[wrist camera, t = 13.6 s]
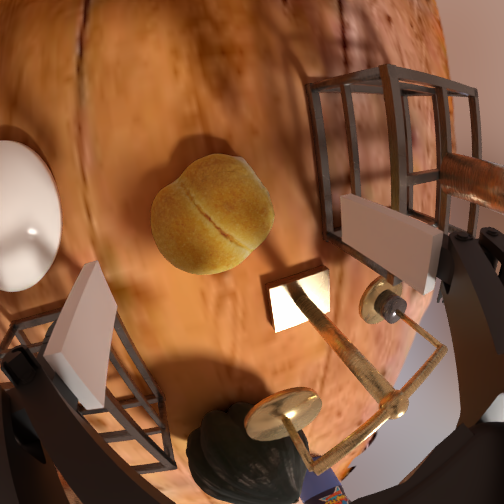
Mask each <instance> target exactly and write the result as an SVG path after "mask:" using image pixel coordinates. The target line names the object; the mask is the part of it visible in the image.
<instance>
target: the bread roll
mask: <svg viewBox="0 0 504 504" xmlns="http://www.w3.org/2000/svg"><path fill="white" fill-rule="evenodd" d="M274 215H275V214H274V210H273V206H272V202H271V199H270V197H269V192H268V191H267V188H265V187H264V186H263V184H262V182H261V181H260V179H259V178H258V177H257V176H256V174H255V172H254V171H253V170H252V168H251V167H250V166H249V164H248V163H247V162H246V161H245V159H243V158H242V157H236V156H230V155H225V154H211V155H208V156H205V157H203V158H200V159H198V160H196V161H194V162H193V163H192V164H190V165H189V166H188V167H187V168H186V169H185V170H184V172H183V173H182V174H181V176H180V177H179V178H178V179H177V180H175V181H174V182H173V183H171V184H169V185H167V186H166V187H164V188H163V189H161V190H160V191H159V192H158V194H157V195H156V197H155V199H154V201H153V203H152V207H151V230H152V235H153V237H154V240H155V242H156V245H157V247H158V249H159V251H160V252H161V253H162V255H163V256H164V257H165V258H166V259H167V260H168V261H169V262H170V263H171V264H172V265H173V266H175V267H176V268H178V269H180V270H183V271H185V272H188V273H192V274H197V275H209V274H215V273H220V272H223V271H227V270H230V269H232V268H234V267H235V266H237V265H238V264H240V263H241V262H242V261H243V260H244V259H245V258H246V257H248V256H249V255H250V254H251V252H252V251H254V250H255V249H256V248H257V247H258V246H259V245H260V244H261V243H262V242H263V241H264V240H265V239H266V237H267V235H268V234H269V232H270V230H271V228H272V225H273V222H274Z"/></svg>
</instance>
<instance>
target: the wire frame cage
mask: <svg viewBox="0 0 504 504" xmlns="http://www.w3.org/2000/svg"><path fill="white" fill-rule="evenodd" d="M398 80H401V81H407V82H412V83H418V84H423V85H428V86H432V87H435V88H429V87H424V86H418V85H413V84H407V83H401V82H399V81H398ZM305 87H306V93H307V95H308V102H309V108H310V114H311V121H312V128H313V136H314V144H315V152H316V160H317V169H318V179H319V189H320V200H321V213H322V227H323V232H322V234H323V240H325V241H326V242H331V243H332V244H334V245H336V246H337V247H339V248H340V249H342V250H343V251H345V252H346V253H348V254H349V255H351V256H353V257H354V258H356V259H357V260H359V261H360V262H362V263H363V264H365V265H366V266H368V267H369V268H371V269H372V270H374V271H375V272H377V273H378V274H380V275H381V276H383V277H384V278H386V279H387V282H388V283H389V284H391V285H392V286H395V285H398V284H400V283H401V282H402V280H401V279H399V278H398V277H396V276H395V275H393V274H392V273H390V272H389V271H387V270H386V269H384V268H383V267H381V266H380V265H378V264H377V263H375V262H374V261H372V260H371V259H369V258H368V257H366V256H365V255H363V254H362V253H360V252H359V251H357V250H355V249H354V248H352V247H351V246H349V245H348V244H346V243H344V242H343V241H342V238H340V237H342V227H338V228H335V229H333V215H332V200H331V187H330V176H329V165H328V155H327V147H326V138H325V130H324V123H323V116H322V109H321V102H320V96H319V93H341V96H342V103H343V110H344V117H345V125H346V134H347V143H348V153H349V164H350V178H351V194H353V195H356V196H359V197H361V184H360V168H359V155H358V144H357V134H356V125H355V117H354V109H353V102H352V95H351V93H367V94H382V95H384V100H385V107H386V116H387V125H388V136H389V149H390V166H391V209H393V210H395V211H397V212H400V213H402V214H405V215H407V216H411V217H413V218H416V219H418V220H421V221H423V222H426V223H428V225H430V226H432V227H434V228H438V229H439V230H441V231H443V233H444V234H446V235H448V232H449V233H452V232H465V233H467V234H470V235H472V236H473V237H474V238H475V237H476V229H477V222H478V212H479V205H480V206H483V207H485V208H488V209H491V210H493V211H496V212H498V213H501V214H503V215H504V165H501V164H498V163H494V162H490V161H486V160H482V147H481V146H482V143H481V123H480V111H479V102H478V92H477V89H476V88H472V87H469V86H466V85H463V84H460V83H457V82H454V81H451V80H448V79H445V78H441V77H438V76H435V75H431V74H427V73H423V72H419V71H415V70H411V69H406V68H402V67H397V66H396V65H391V64H384V65H379V66H378V67H376V68H371V69H366V70H361V71H357V72H353V73H349V74H345V75H341V76H337V77H333V78H329V79H326V80H322V81H319V82H315V83H309V84H306V85H305ZM407 96H432V101H433V110H434V120H435V133H436V154H437V169H432V170H426V171H420V172H414V173H413V157H412V139H411V126H410V115H409V107H408V99H407ZM447 96H460V97H468V98H469V106H470V118H471V132H472V157H469V156H465V155H460V154H455V153H452V146H451V127H450V115H449V105H448V97H447ZM435 180H437V188H436V210H435V218H433V217H431V216H428V215H426V214H423V213H421V212H418V211H415V210H413V185H416V184H421V183H426V182H431V181H435ZM451 196H454V197H458V198H460V199H463V200H466V201H469V202H470V212H469V221H468V230H467V232H466V231H464V230H462V229H460V228H458V227H455V226H453V225H450V224H449V216H450V204H451Z"/></svg>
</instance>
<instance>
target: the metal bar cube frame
mask: <svg viewBox="0 0 504 504" xmlns="http://www.w3.org/2000/svg"><path fill="white" fill-rule="evenodd" d="M62 309H63V307H62V308H58V309H55V310H51V311H48V312H45V313H41V314H38V315H34V316H31V317H27V318H24V319H20V320H15V321H12V322H11V324H10V325H9V326H10V328H9V329H8V331H7V333H6V335H5V337H4V338H3V340H2V342H1V344H0V364H1V362H2V359H3V358H4V356H5V355H6V354H7V353H8V352H9V351H10V350H11V349H8V347H9V345H10V343H11V341H12V339H13V337H14V335H16V337H17V339H18V340H19V342H20V343H21V345H26V346H27V347H28V348H29V350H30V351H31V353H32V354H33V356H34V357H35V358H37V355H38V354H37V352H39V350H40V348H41V345H43V344H42V343H43V342H38V343H34V344H31V343H30V342H29V340H28V339H27V337H26V335H25V334H24V332H23V331H22V329H26V328H30V327H34V326H37V325H41V324H45V323H49V322H52V321H55V320H57V319H58V318H59V315H60V313H61V311H62ZM114 328H115V330H116V332H117V334H118V336H119V337H120V339H121V341H122V343H123V345H124V346H125V348H126V350H127V352H128V353H129V355H130V357H131V359H132V360H133V362H134V364H135V365H136V367H137V369H138V370H139V372H140V373H141V375H142V377H143V378H144V380H145V381H146V383H147V384H148V386H149V387H150V389H151V390H152V392H153V393H154V394H152V395H148V396H144V395H143V394H142V393H141V391H140V390H139V388H138V387H137V385H136V384H135V383H134V381H133V380H132V378H131V377H130V375H129V374H128V372H127V370H126V369H125V367H124V366H123V364H122V363H121V361H120V359H119V358H118V356H117V354H116V353H115V351H114V349H113V348H112V346H110V354H109V359H110V361H111V362H112V364H113V365H114V367H115V368H116V370H117V371H118V373H119V374H120V376H121V377H122V379H123V380H124V382H125V383H126V384H127V386H128V387H129V389H130V390H131V391H132V393H133V394H134V395H135V397H136V398H133V399H128V400H123V401H117V399H116V398H115V397H114V396H113V394H112V393H111V392H110V390H109V389H108V388H107V387H106V389H105V401H104V408H98V409H90V410H86V408H85V407H79V406H78V405H77V410H78V411H79V412H80V413H81V414H82V415H87V414H95V413H102V412H110V413H111V414H112V415H113V416H114V418H115V419H116V420H117V421H118V422H119V423H120V424H121V425H122V426H123V427H124V428H125V429H126V430H121V431H114V432H106V433H98V434H99V435H100V436H101V437H102V438H103V439H104V440H105V441H106V442H107V443H110V442H119V441H126V440H133V439H136V440H137V441H138V442H139V443H140V444H141V445H142V446H143V447H144V448H145V449H146V450H147V451H148V452H149V453H150V454H152V455H153V456H154V457H155V458H156V459H157V460H158V461H159V463H152V464H145V465H136V466H131V467H132V468H133V469H134V470H135V471H136V472H137V473H139V474H146V473H154V472H161V471H168V470H175V469H177V465H176V462H175V460H174V455H173V449H172V444H171V438H170V432H169V426H168V419H167V413H166V405H165V400H166V399H165V395H164V393H163V392H162V391H161V389H160V388H159V386H158V385H157V383H156V381H155V380H154V378H153V377H152V375H151V373H150V372H149V370H148V368H147V367H146V365H145V363H144V361H143V360H142V358H141V356H140V354H139V353H138V351H137V349H136V347H135V345H134V343H133V342H132V340H131V338H130V336H129V334H128V332H127V330H126V328H125V326H124V324H123V322H122V320H121V318H120V316H119V314H118V312H117V311H116V316H115V322H114ZM0 385H1V387H2V388H3V389H4V390H5V391H7V390H9V389H11V388H13V387H15V386H14V385H13V384H12V382H5V383H0ZM156 402H158V409H159V416H158V414H157V413H156V412H155V410H154V409H153V408H152V406H151V405H150V404H152V403H156ZM137 406H143V407H144V409H145V410H146V411H147V413H148V414H149V415H150V416H151V418H152V419H153V420H154V421H155V422H156V424H157V425H158V426H159V427H154V428H149V429H143V430H142V429H141V428H140V426H139V425H138V424H137V423H136V422H135V421H134V420H133V419H132V417H131V416H130V415H129V414H128V413H127V412H126V410H125V409H127V408H132V407H137ZM158 433H162V440H163V446H164V451H163V450H162V449H161V448H160V447H159V446H158V445H157V444H156V443H155V442H154V441H153V440H152V439H151V438H150V437H149V436H148V435H153V434H158ZM53 463H54V462H53ZM58 476H59V479H60V482H61V484H62V486H63V489H64V491H65V494H66V496H67V498H68V500H69V503H70V504H83V503H82V502H81V501H80V499H79V498H78V497H77V496H76V494H75V493H74V492H73V490H72V489H71V488H70V486H69V485H68V483H67V482H66V481H65V479H64V478H63V476H62V475H61V473H60V472H59V470H58Z"/></svg>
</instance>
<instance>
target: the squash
mask: <svg viewBox="0 0 504 504" xmlns="http://www.w3.org/2000/svg"><path fill="white" fill-rule="evenodd" d="M253 407H254V405H252V404H249V403H244V402H237V403H235V404H233V405H232V406H231V407H230V408H229V410H228V412H227V413H225V412H223V411H219V410H213V411H211V412H209V413H207V414H206V415H205V416H204V418H203V421H202V424H201V427H200V428H198V429H196V430H194V431H193V432H192V433H191V434H190V435H189V437H188V439H187V449H186V455H187V457H188V463H189V468H190V471H191V474H192V477H193V479H194V481H195V482H196V483H197V485H198V486H199V487H200V488H201V489H202V490H203V491H204V492H205V493H206V494H208V495H210V496H212V497H214V498H216V499H218V500H222V501H226V502H229V503H233V504H292V503H297V502H298V501H299V497H300V495H301V492H302V485H303V481H304V478H305V475H306V472H307V467H306V465H305V463H304V461H303V460H302V458H301V456H300V454H299V452H298V451H297V449H296V447H295V445H294V443H293V441H292V439H291V437H290V436H287V437H284V438H280V439H276V440H270V441H259V440H255V439H252V438H251V437H250V436H249V435H248V434H247V431H246V429H245V426H244V419H245V417H246V415H247V413H248V412H249V411H250V410H251V409H252V408H253ZM297 433H298V434H299V436H300V438H301V440H302V442H303V443H304V445H305V447H306V449H307V450H308V452H309V446H308V441H307V438H306V436H305V434H304V432H303V431H302V429H301V430H299V431H298V432H297Z"/></svg>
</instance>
